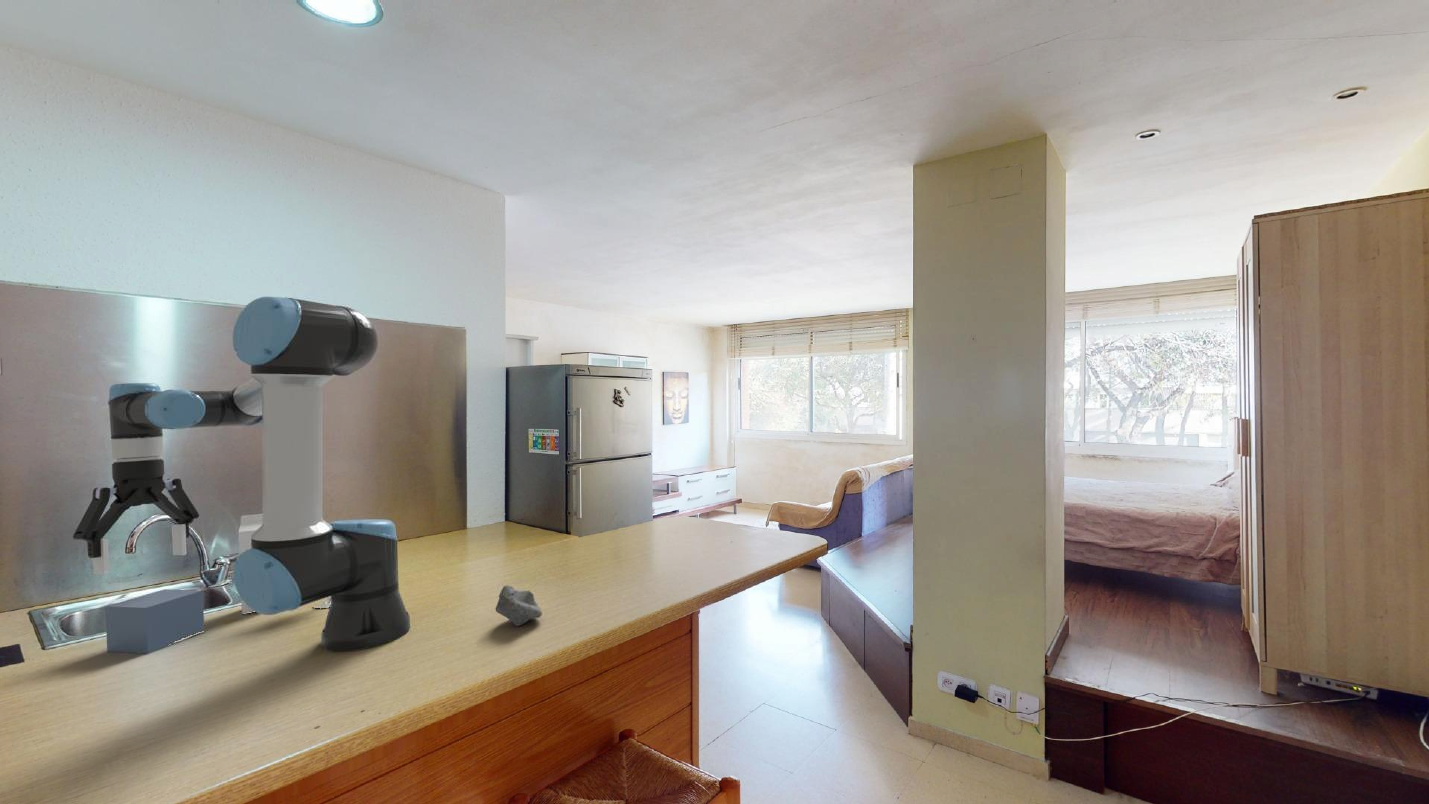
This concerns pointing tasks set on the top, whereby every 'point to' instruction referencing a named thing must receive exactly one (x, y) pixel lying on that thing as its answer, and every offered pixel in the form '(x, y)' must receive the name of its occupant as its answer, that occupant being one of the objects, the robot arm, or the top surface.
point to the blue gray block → (154, 620)
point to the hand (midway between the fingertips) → (142, 563)
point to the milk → (248, 539)
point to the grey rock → (517, 605)
